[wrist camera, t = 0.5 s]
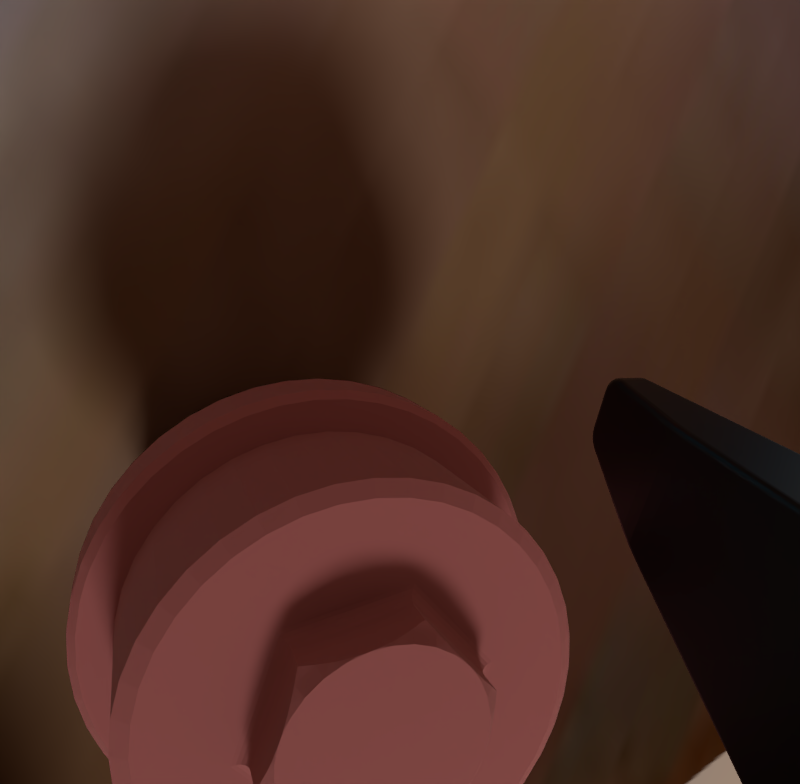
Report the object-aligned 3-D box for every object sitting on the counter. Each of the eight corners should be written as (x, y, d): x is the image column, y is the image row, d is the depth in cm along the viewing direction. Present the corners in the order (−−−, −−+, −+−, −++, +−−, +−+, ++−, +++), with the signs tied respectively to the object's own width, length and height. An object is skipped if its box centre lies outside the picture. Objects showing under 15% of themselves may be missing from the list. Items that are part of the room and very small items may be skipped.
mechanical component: (146, 293, 20) (444, 387, 24) (47, 613, 21) (350, 653, 25) (164, 364, 9) (720, 521, 13) (-52, 1053, 10) (532, 999, 14)
